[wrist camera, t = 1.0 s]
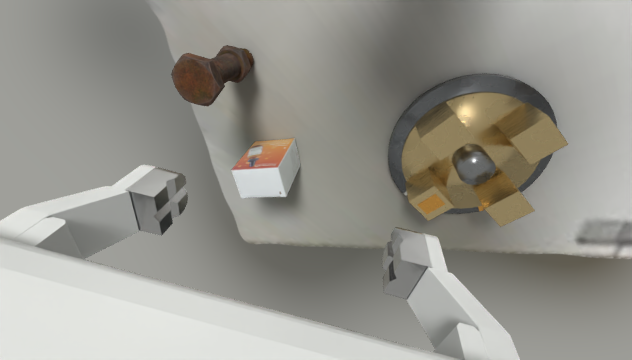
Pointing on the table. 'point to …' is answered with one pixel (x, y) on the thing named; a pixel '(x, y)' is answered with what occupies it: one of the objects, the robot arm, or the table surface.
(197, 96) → the bolt
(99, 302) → the robot arm
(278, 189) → the small box
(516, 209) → the four-lug gold disc
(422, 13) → the table surface
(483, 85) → the base plate
